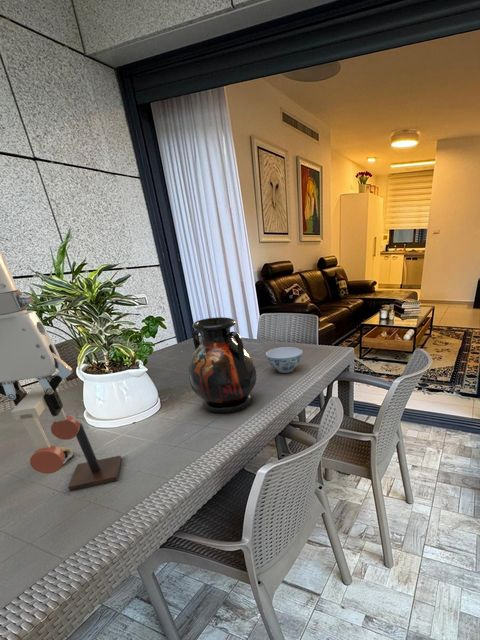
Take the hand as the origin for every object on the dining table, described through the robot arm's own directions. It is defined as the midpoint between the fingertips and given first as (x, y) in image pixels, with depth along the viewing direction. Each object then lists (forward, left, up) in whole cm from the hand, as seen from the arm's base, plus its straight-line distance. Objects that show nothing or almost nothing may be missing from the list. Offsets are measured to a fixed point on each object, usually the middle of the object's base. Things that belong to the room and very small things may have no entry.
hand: (44, 414), depth 61 cm
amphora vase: (+34, +46, -25) cm, 62 cm away
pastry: (-14, +29, -25) cm, 41 cm away
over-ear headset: (0, 0, -8) cm, 8 cm away
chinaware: (+61, +70, -25) cm, 96 cm away
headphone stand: (-2, +18, -25) cm, 31 cm away
